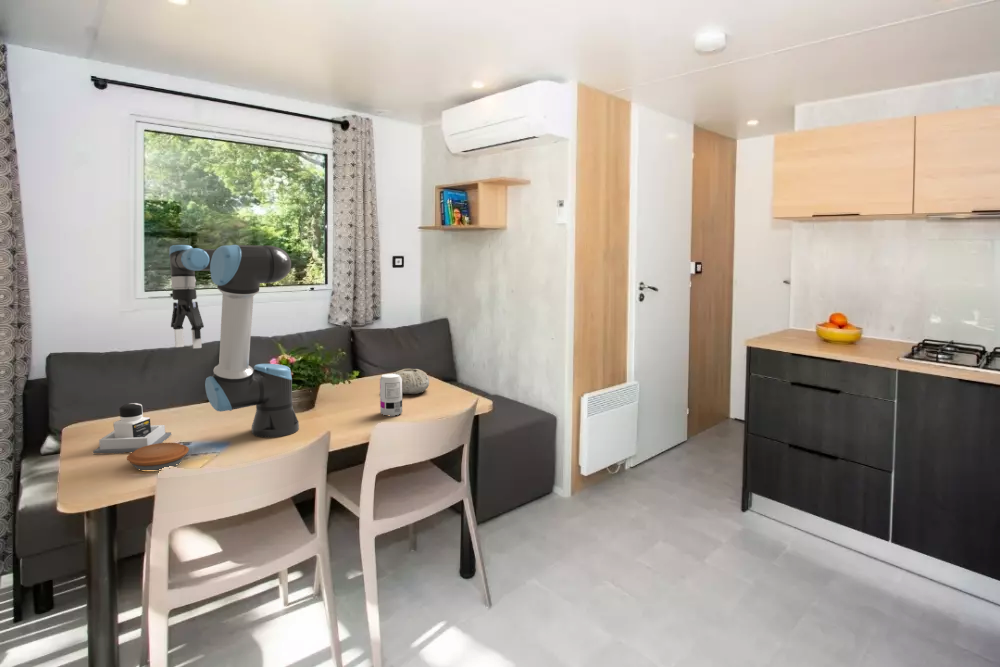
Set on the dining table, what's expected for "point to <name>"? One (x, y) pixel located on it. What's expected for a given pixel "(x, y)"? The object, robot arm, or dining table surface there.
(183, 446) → the pie
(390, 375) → the supplement can
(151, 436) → the dock
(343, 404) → the dining table surface
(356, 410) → the dining table surface
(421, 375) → the grey squat round piece
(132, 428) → the medicine bottle
